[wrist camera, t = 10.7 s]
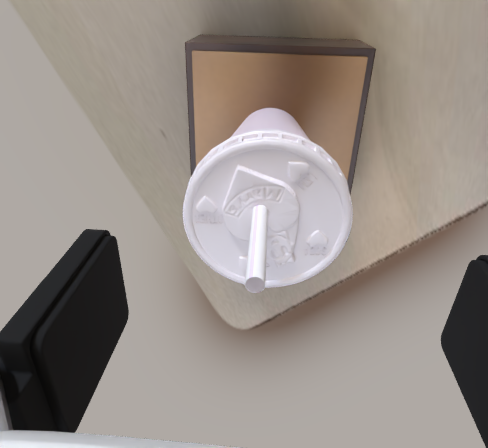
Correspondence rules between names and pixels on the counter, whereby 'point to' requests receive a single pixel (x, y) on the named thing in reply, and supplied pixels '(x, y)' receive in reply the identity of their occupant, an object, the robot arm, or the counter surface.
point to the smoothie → (268, 204)
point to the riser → (279, 89)
